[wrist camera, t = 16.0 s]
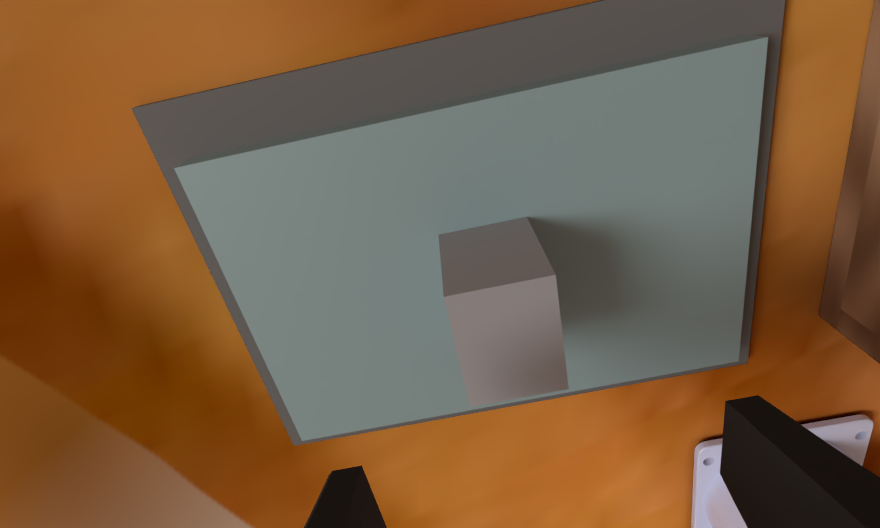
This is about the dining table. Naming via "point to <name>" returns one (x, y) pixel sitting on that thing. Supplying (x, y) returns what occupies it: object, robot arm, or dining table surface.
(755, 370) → the dining table surface
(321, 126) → the mat
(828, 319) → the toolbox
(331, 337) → the lid
